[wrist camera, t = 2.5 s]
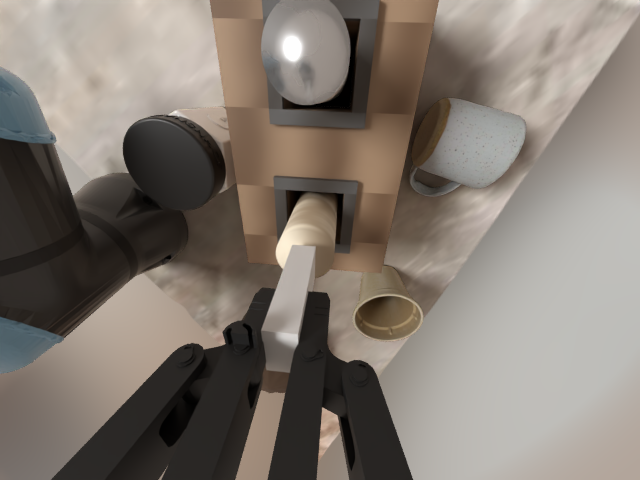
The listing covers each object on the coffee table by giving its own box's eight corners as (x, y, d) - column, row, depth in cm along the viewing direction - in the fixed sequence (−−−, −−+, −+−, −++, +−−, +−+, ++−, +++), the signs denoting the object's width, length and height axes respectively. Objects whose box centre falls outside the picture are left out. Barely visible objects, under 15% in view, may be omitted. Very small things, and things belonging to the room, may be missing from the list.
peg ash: (301, 214, 27) (277, 276, 17) (300, 178, 25) (273, 228, 15) (336, 216, 27) (332, 281, 17) (339, 181, 25) (336, 233, 15)
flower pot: (384, 307, 43) (392, 350, 36) (340, 284, 42) (339, 324, 34) (421, 273, 39) (439, 314, 31) (373, 246, 37) (381, 283, 30)
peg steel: (300, 100, 21) (264, 103, 12) (300, 43, 19) (256, -10, 10) (345, 102, 21) (346, 106, 12) (350, 44, 19) (355, -9, 10)
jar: (271, 140, 30) (233, 162, 20) (243, 189, 34) (199, 228, 24) (206, 91, 28) (128, 88, 18) (184, 149, 32) (108, 174, 22)
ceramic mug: (429, 93, 26) (456, 93, 20) (498, 113, 27) (547, 119, 20) (391, 183, 32) (403, 206, 26) (449, 198, 32) (475, 225, 26)
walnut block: (275, 215, 36) (246, 265, 25) (262, 5, 24) (194, -70, 13) (370, 221, 35) (381, 277, 24) (404, 8, 23) (456, -70, 12)
